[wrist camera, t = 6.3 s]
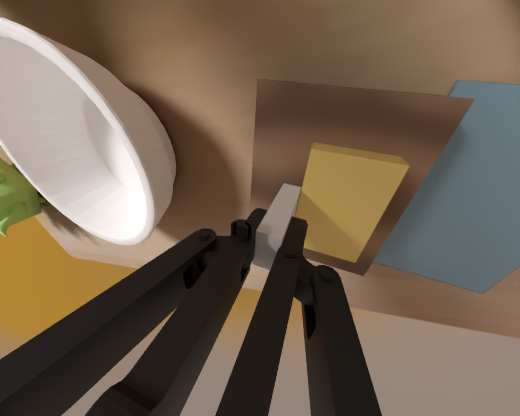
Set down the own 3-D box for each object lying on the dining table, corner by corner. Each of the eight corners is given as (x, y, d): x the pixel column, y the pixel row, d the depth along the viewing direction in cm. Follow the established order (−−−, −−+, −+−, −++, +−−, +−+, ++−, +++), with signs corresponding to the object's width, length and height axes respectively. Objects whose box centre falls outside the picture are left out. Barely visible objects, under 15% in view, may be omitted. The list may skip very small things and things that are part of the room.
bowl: (99, -26, 17) (-55, -100, 10) (235, 182, 24) (195, 218, 17) (51, 116, 29) (-35, 123, 22) (150, 227, 36) (107, 259, 29)
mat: (456, 80, 13) (458, 80, 13) (728, 100, 10) (737, 100, 10) (359, 256, 23) (359, 257, 23) (480, 291, 20) (482, 293, 20)
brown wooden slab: (272, 81, 17) (257, 78, 13) (442, 96, 14) (475, 98, 10) (259, 221, 26) (248, 240, 22) (359, 249, 22) (363, 275, 19)
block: (313, 142, 14) (311, 148, 13) (400, 156, 13) (409, 165, 11) (292, 230, 19) (288, 243, 18) (353, 247, 18) (355, 262, 16)
